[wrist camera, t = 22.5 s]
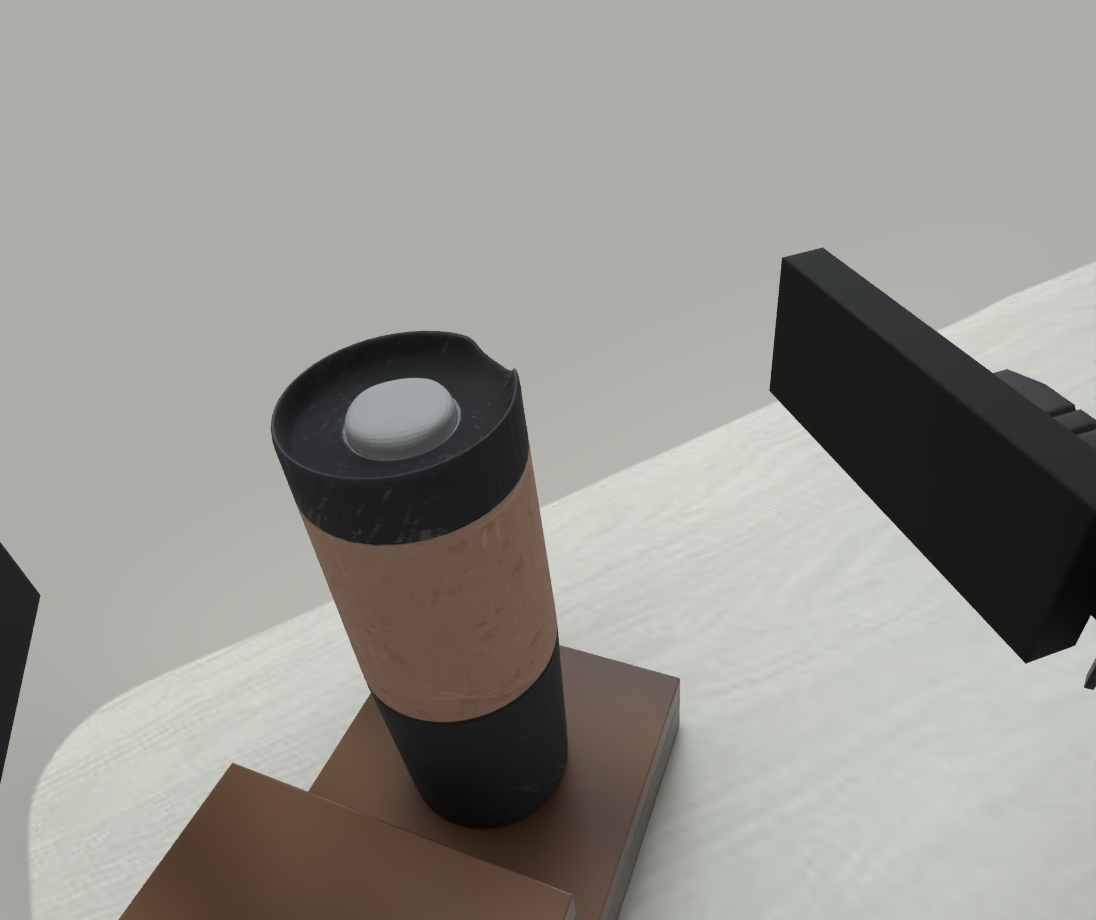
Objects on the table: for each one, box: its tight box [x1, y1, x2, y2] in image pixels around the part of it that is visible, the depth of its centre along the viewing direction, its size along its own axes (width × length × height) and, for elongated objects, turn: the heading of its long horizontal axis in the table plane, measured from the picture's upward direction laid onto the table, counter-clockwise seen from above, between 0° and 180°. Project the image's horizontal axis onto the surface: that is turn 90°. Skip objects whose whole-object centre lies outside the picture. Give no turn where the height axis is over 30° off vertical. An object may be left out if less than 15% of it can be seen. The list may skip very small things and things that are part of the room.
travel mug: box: [271, 331, 568, 828], centre depth 31 cm, size 8×8×20 cm
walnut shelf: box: [119, 645, 680, 920], centre depth 34 cm, size 22×14×10 cm, turn 158°
